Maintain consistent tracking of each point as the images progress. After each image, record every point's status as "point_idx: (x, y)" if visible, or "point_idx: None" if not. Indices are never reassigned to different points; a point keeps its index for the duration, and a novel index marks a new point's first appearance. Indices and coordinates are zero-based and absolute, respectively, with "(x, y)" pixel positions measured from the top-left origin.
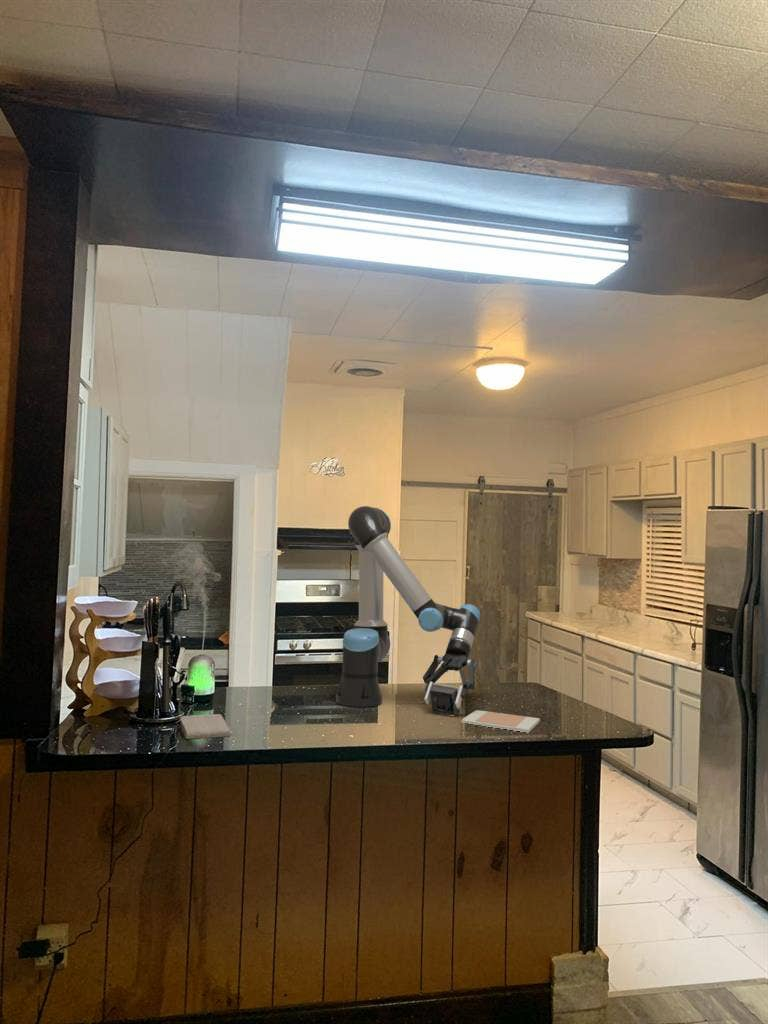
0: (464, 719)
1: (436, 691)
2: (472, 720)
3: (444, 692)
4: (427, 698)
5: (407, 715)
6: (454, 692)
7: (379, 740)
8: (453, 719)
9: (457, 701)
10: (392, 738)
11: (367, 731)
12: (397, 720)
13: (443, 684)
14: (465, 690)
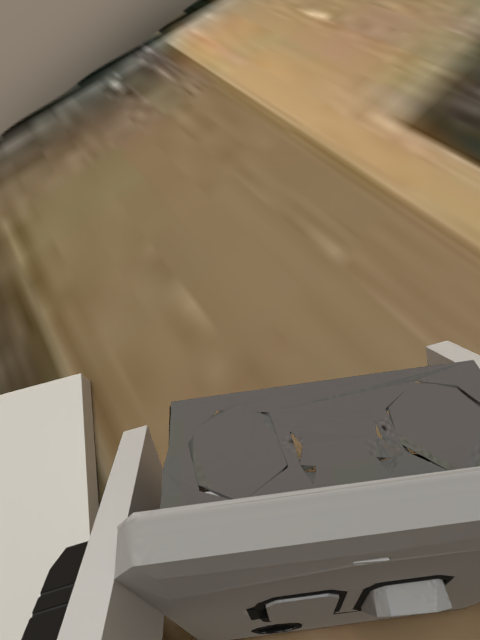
0: (68, 403)
1: (381, 373)
2: (12, 424)
3: (272, 391)
4: (438, 364)
5: (445, 298)
6: (166, 472)
7: (223, 34)
8: None
9: (123, 441)
10: (207, 61)
11: (323, 54)
12: (383, 196)
13: (424, 520)
14: (23, 635)
